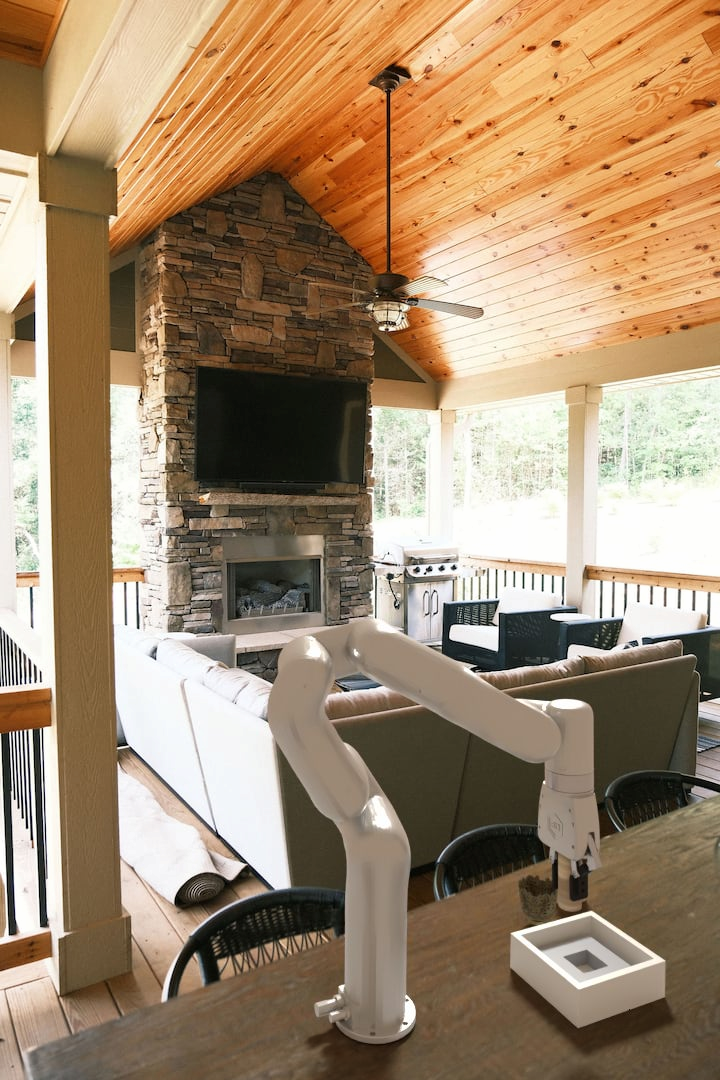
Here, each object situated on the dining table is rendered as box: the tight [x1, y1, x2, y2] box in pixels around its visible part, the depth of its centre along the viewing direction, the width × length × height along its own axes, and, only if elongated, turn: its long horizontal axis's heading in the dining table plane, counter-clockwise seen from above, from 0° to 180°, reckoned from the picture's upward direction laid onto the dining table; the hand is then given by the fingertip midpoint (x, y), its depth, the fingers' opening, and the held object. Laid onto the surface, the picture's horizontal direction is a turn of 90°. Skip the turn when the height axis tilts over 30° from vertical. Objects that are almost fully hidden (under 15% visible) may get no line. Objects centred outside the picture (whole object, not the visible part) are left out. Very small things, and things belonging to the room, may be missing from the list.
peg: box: [557, 853, 583, 913], centre depth 120 cm, size 4×4×10 cm
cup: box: [517, 874, 558, 927], centre depth 143 cm, size 8×7×8 cm
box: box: [509, 910, 667, 1029], centre depth 126 cm, size 18×17×6 cm
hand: (569, 891), depth 120 cm, fingers closed on peg, 3 cm apart
